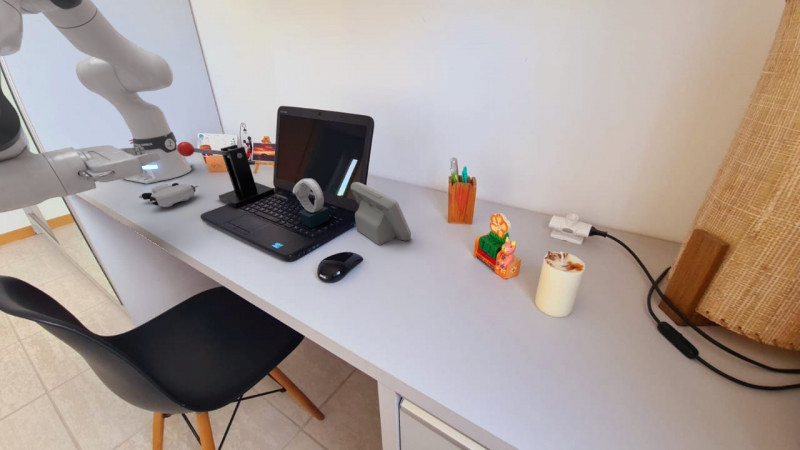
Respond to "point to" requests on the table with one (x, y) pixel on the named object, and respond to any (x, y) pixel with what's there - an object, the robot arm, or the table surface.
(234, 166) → the switch bracket
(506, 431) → the table surface
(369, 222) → the digital clock
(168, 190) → the robot toy
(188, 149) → the switch lever
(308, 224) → the ring sculpture on base
